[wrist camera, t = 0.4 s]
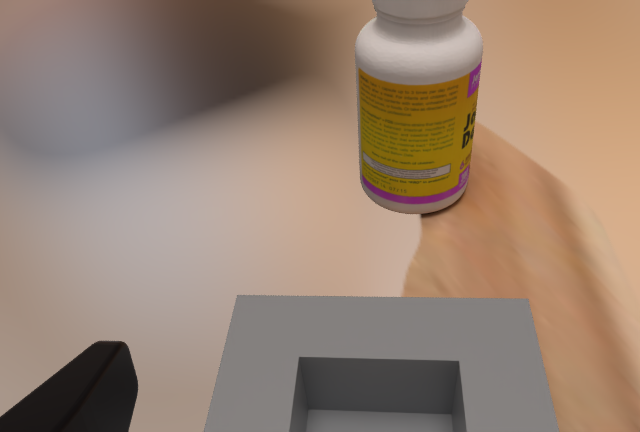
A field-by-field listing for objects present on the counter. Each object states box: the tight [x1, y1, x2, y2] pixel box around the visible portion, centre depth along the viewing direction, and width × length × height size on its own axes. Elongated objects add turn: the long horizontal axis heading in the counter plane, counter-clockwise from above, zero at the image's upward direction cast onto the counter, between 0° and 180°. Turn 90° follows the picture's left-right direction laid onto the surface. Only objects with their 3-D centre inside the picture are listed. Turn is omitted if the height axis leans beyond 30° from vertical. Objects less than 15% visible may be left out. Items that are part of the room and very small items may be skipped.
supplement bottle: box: [355, 0, 483, 214], centre depth 32 cm, size 7×7×13 cm
